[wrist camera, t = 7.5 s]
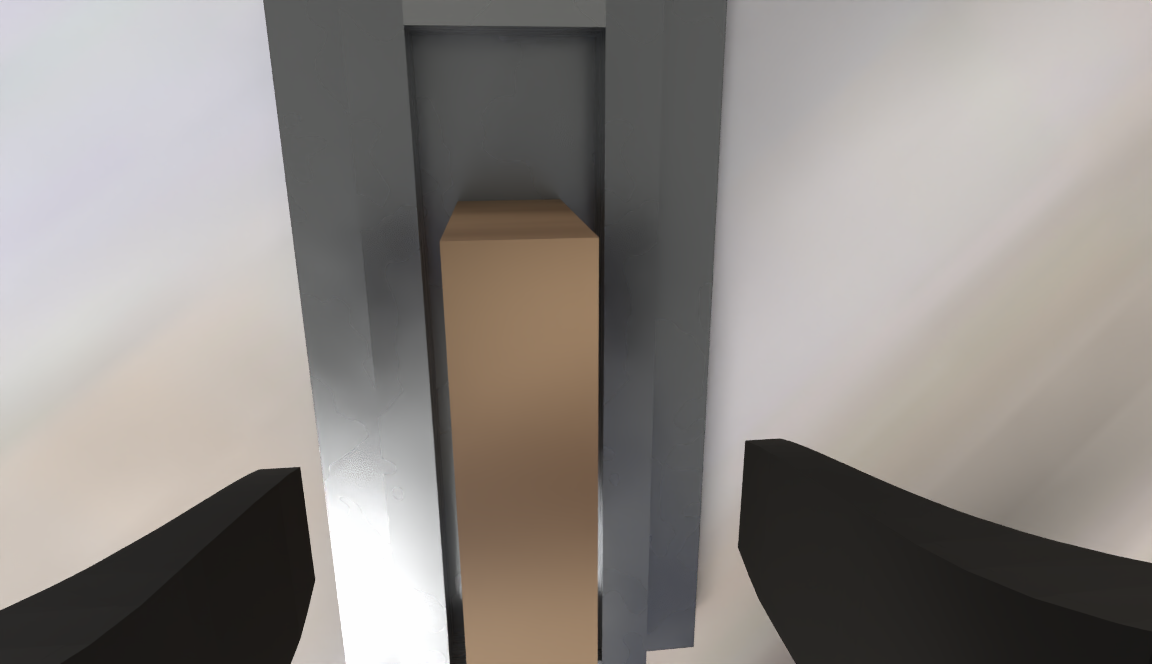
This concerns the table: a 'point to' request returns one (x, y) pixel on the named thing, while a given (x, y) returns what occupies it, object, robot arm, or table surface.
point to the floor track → (415, 294)
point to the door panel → (524, 427)
